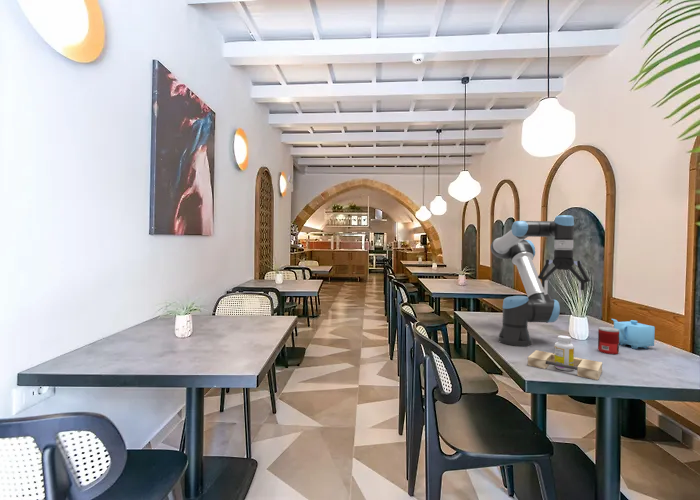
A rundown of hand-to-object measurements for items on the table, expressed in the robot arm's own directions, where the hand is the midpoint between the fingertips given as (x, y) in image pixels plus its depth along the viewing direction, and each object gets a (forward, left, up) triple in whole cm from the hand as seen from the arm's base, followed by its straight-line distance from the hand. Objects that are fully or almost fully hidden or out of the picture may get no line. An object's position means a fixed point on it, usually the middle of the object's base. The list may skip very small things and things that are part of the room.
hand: (562, 295), depth 165 cm
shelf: (+5, -21, -27) cm, 35 cm away
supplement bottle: (+5, -22, -27) cm, 35 cm away
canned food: (+16, +19, -27) cm, 37 cm away
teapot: (+22, +42, -27) cm, 55 cm away
